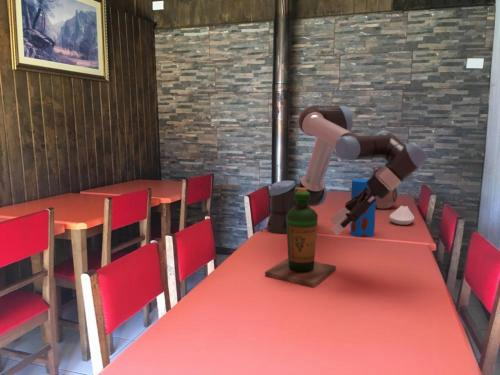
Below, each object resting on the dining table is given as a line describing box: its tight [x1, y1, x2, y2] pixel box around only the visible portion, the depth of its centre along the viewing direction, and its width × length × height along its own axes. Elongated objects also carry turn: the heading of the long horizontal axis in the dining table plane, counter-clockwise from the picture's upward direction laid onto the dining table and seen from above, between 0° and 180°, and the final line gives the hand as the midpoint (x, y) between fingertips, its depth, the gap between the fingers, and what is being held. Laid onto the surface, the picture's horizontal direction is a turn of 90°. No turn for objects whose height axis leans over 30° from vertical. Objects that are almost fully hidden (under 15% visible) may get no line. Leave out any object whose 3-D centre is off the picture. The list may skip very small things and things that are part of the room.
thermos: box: [349, 178, 377, 238], centre depth 181 cm, size 11×11×25 cm
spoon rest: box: [389, 205, 415, 226], centre depth 206 cm, size 24×12×7 cm, turn 155°
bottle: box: [286, 188, 319, 272], centre depth 134 cm, size 11×11×28 cm
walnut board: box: [264, 257, 337, 288], centre depth 136 cm, size 18×18×2 cm
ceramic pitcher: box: [371, 165, 398, 210], centre depth 236 cm, size 18×21×25 cm
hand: (333, 226), depth 131 cm, fingers open, 13 cm apart
